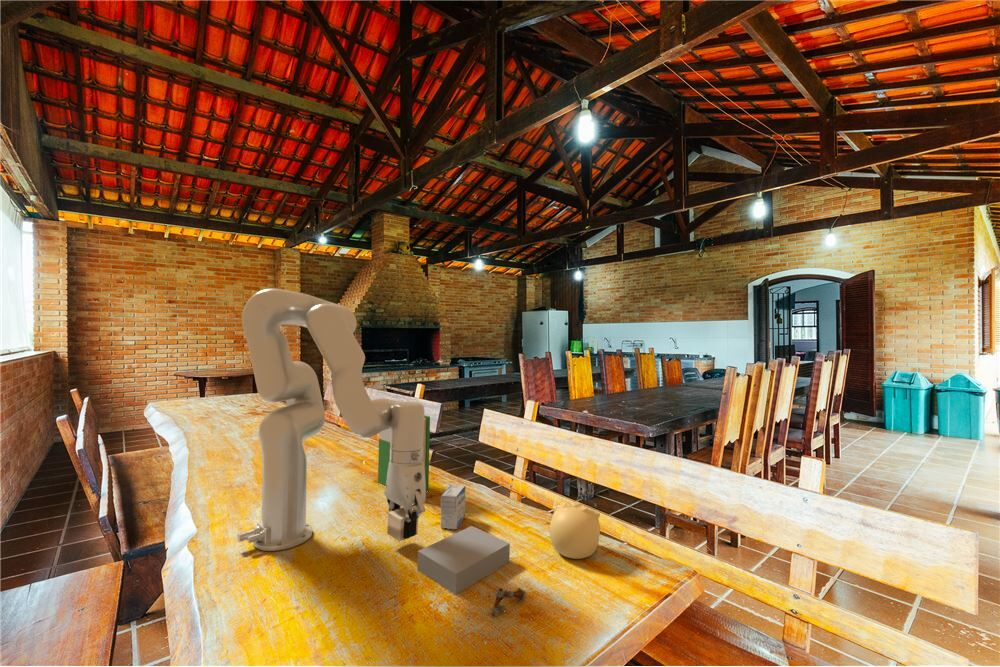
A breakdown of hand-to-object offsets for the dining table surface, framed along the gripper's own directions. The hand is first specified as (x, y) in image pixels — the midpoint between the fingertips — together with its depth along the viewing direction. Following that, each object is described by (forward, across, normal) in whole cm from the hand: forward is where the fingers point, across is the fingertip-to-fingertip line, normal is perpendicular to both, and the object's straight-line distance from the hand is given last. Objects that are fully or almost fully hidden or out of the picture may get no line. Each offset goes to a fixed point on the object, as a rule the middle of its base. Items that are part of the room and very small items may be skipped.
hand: (402, 531), depth 96 cm
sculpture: (+3, -31, -26) cm, 41 cm away
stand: (+3, -17, -4) cm, 17 cm away
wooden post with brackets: (+3, -33, -1) cm, 33 cm away
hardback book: (+4, +30, -22) cm, 37 cm away
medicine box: (+3, 0, -16) cm, 17 cm away
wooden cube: (+1, 0, 0) cm, 1 cm away
